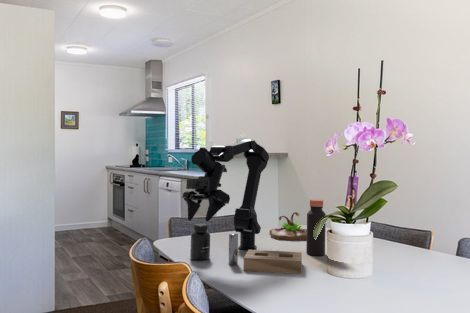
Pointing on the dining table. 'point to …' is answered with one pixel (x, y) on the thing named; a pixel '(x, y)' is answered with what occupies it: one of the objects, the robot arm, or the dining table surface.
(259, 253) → the peg board
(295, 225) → the plant
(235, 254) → the peg
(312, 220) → the vinegar
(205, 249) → the supplement bottle
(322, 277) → the dining table surface
